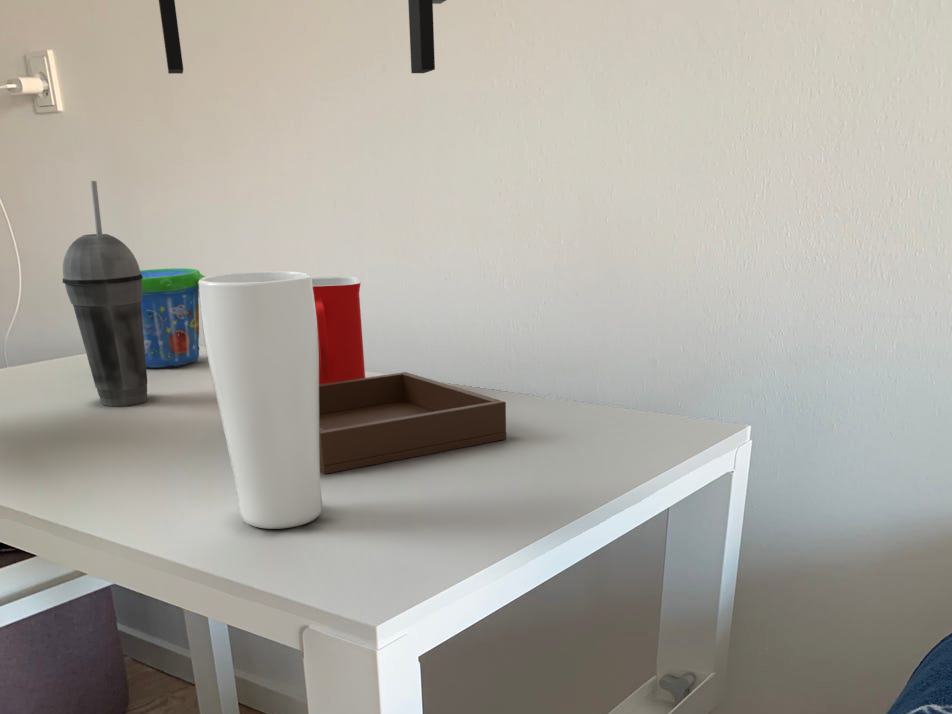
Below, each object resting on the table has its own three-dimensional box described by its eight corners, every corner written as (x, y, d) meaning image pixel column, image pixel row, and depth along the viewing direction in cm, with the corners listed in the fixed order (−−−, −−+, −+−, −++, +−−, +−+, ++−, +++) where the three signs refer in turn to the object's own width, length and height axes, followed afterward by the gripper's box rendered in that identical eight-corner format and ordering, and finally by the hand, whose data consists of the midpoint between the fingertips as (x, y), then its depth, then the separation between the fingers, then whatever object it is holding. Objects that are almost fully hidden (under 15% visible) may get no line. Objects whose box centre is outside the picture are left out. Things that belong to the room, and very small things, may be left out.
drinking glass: (354, 511, 67) (335, 272, 60) (288, 542, 62) (259, 285, 55) (277, 497, 70) (251, 269, 63) (207, 525, 65) (171, 280, 58)
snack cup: (83, 372, 115) (65, 278, 110) (121, 356, 124) (105, 269, 120) (216, 371, 113) (203, 276, 109) (244, 355, 123) (233, 266, 118)
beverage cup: (70, 407, 98) (25, 182, 89) (112, 392, 104) (74, 180, 95) (137, 410, 96) (98, 181, 87) (175, 394, 102) (142, 179, 94)
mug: (285, 386, 105) (274, 278, 100) (364, 381, 106) (356, 275, 101) (284, 411, 94) (271, 292, 90) (372, 406, 95) (364, 288, 91)
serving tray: (242, 431, 87) (237, 396, 86) (407, 404, 96) (405, 371, 94) (324, 474, 75) (320, 433, 74) (506, 439, 83) (506, 401, 82)
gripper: (-52, -547, 40) (56, 65, 49) (541, -467, 46) (538, 66, 55) (-21, -448, 46) (69, 77, 56) (494, -389, 52) (499, 76, 62)
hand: (303, 72), depth 55 cm, fingers open, 13 cm apart
